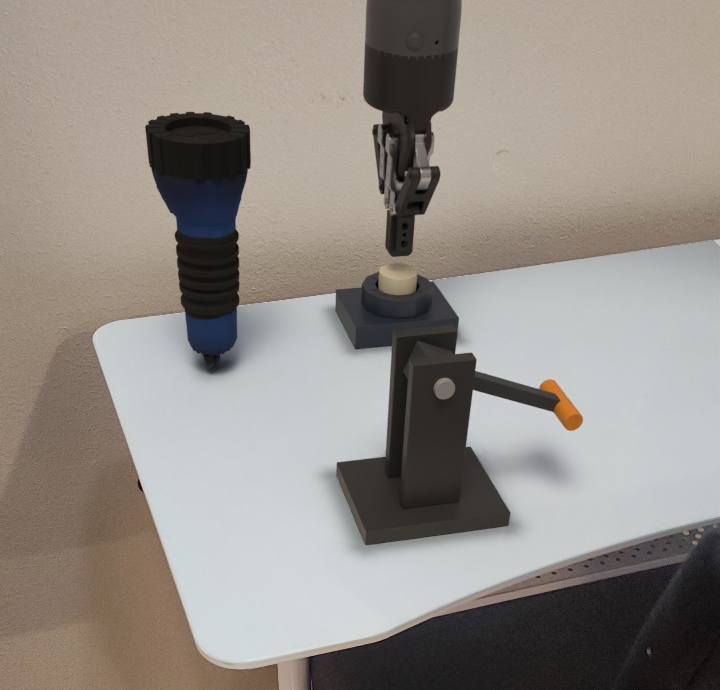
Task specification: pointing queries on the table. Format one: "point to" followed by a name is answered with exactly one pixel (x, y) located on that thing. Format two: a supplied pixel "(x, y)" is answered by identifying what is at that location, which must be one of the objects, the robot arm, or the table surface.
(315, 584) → the table surface
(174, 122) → the flashlight
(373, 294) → the block
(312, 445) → the table surface
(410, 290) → the power button
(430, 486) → the lever pivot stand
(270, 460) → the table surface
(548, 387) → the lever with orange handle
